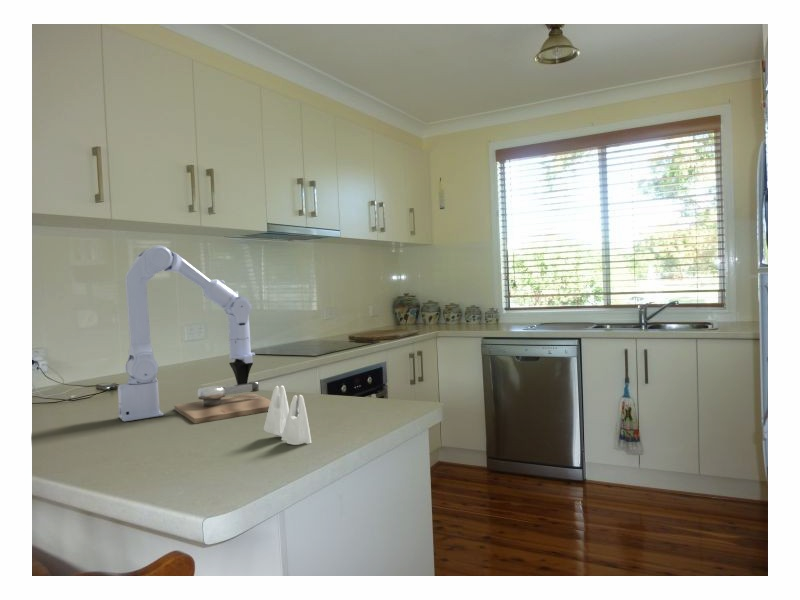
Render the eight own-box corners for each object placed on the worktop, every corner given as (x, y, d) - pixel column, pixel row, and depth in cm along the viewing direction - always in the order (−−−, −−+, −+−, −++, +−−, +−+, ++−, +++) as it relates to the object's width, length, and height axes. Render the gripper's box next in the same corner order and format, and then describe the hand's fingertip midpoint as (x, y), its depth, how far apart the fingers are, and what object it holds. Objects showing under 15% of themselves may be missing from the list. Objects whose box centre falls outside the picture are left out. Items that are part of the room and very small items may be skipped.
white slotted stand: (262, 438, 118) (260, 385, 118) (280, 433, 121) (277, 382, 121) (295, 447, 110) (292, 391, 109) (313, 442, 113) (310, 387, 112)
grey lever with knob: (202, 400, 145) (201, 391, 145) (195, 397, 151) (194, 388, 151) (263, 391, 154) (262, 383, 154) (254, 388, 160) (253, 380, 160)
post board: (195, 423, 134) (194, 411, 134) (174, 409, 153) (173, 398, 152) (282, 409, 146) (281, 397, 146) (253, 397, 165) (253, 387, 165)
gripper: (262, 338, 156) (265, 387, 157) (245, 336, 168) (247, 381, 169) (237, 341, 152) (239, 391, 153) (221, 338, 164) (224, 384, 165)
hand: (242, 386), depth 160 cm, fingers closed
